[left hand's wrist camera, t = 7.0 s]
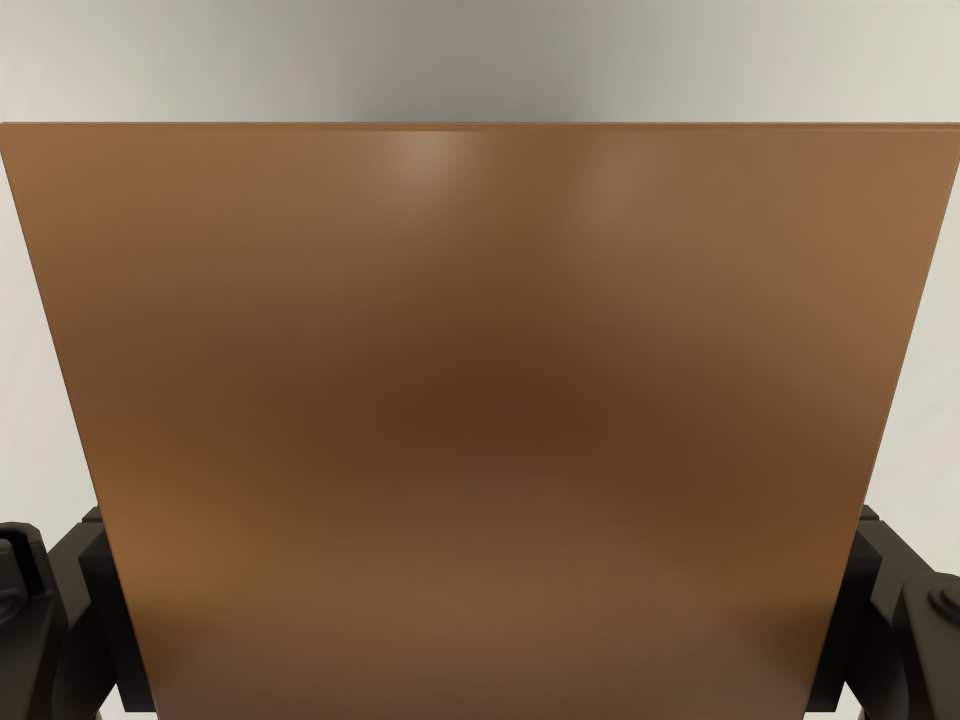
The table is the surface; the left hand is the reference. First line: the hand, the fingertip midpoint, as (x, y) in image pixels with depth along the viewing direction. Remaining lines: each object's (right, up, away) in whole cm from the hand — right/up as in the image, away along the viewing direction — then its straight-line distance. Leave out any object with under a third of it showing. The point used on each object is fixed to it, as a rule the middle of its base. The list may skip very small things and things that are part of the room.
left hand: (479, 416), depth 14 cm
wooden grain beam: (0, -19, +8) cm, 21 cm away
